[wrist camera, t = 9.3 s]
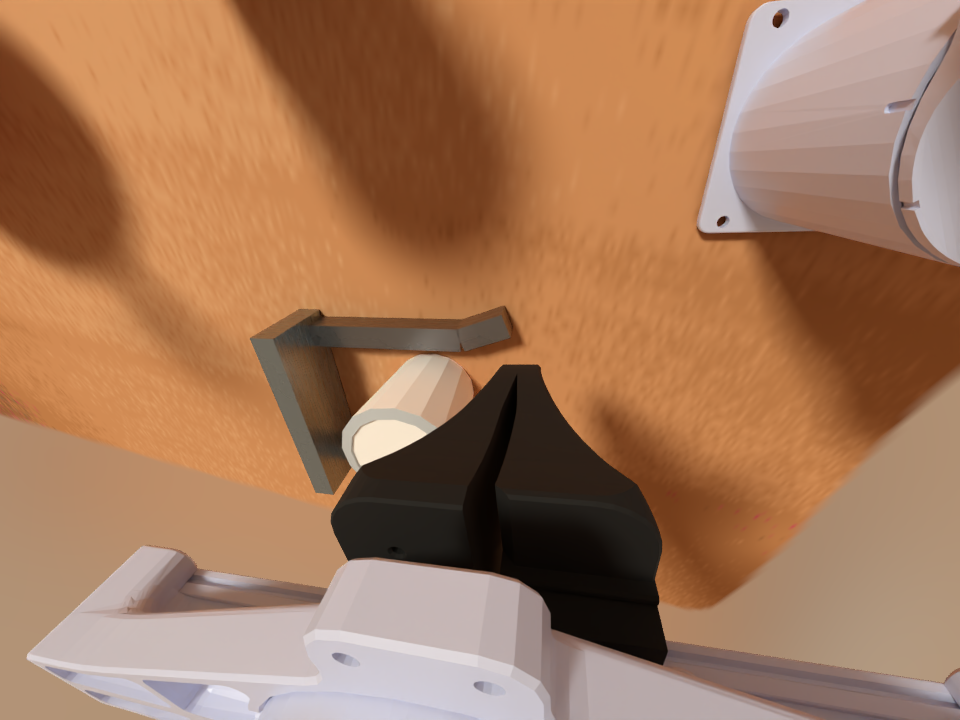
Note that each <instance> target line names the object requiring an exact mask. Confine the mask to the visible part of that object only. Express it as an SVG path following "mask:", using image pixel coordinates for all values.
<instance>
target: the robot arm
mask: <svg viewBox="0 0 960 720" xmlns="http://www.w3.org/2000/svg"><path fill="white" fill-rule="evenodd" d="M777 12H778V13H781V14H782V15H783V22H782V24H781V26H780V27H779V28H775V27H774V26H773V24H772V19H773V17H774V15H775V14H776V13H777ZM722 216H725V217H726V221H725V223H724V224H723V225H722V226H719V227H718V226H717V221H718V219H719V218H720V217H722ZM697 227H698V229H699V230H700V231H702V232H704V233H742V232H790V231H819V232H823V233H827V234H831V235H835V236H839V237H843V238H847V239H851V240H855V241H859V242H863V243H867V244H870V245H874V246H878V247H882V248H886V249H890V250H894V251H898V252H902V253H906V254H910V255H914V256H918V257H922V258H926V259H930V260H934V261H938V262H942V263H946V264H950V265H954V266H958V267H960V0H780V1H772V2H768V3H765V4H763V5H761V6H760V7H759V8H757V9H756V10H755V11H754V12H753V13H752V14H751V15H750V17H749V18H748V20H747V23H746V25H745V30H744V34H743V38H742V42H741V46H740V50H739V54H738V58H737V62H736V66H735V70H734V74H733V78H732V82H731V86H730V90H729V94H728V98H727V102H726V106H725V110H724V114H723V118H722V122H721V126H720V130H719V135H718V139H717V143H716V147H715V151H714V155H713V159H712V163H711V167H710V171H709V175H708V179H707V183H706V187H705V191H704V195H703V199H702V203H701V207H700V211H699V215H698V219H697ZM331 524H332V527H333V531H334V534H335V536H336V538H337V540H338V542H339V544H340V546H341V548H342V550H343V552H344V554H345V556H346V558H347V560H348V562H347V563H346V564H344V565H343V566H342V567H340V568H339V569H338V570H337V572H336V574H335V576H334V578H333V580H332V582H331V584H330V586H329V588H321V587H315V586H308V585H301V584H294V583H289V582H282V581H276V580H269V579H263V578H256V577H249V576H243V575H236V574H230V573H223V572H217V571H210V570H204V569H197V565H196V564H195V562H194V561H193V560H192V559H191V557H189V556H188V555H187V554H186V553H184V552H182V551H180V550H176V549H172V548H165V547H158V546H151V545H145V546H142V547H141V548H140V549H139V550H138V551H136V553H134V554H133V555H132V556H131V557H130V558H129V559H128V560H127V561H126V562H125V563H124V564H123V565H122V566H120V567H119V569H117V570H116V571H115V572H114V573H113V574H112V575H111V576H110V577H109V578H108V579H107V580H106V581H104V582H103V583H102V584H101V585H100V586H99V587H98V588H97V589H96V590H95V591H94V592H93V593H92V594H91V595H90V596H89V597H88V598H86V599H85V600H84V601H83V602H82V603H81V604H80V605H79V606H78V607H77V608H76V609H75V610H74V611H73V612H72V613H70V614H69V615H68V616H67V617H66V618H65V619H64V620H63V621H62V622H61V623H60V624H59V625H58V626H57V627H56V628H55V629H53V630H52V631H51V632H50V633H49V634H48V635H47V636H46V637H45V638H44V639H43V640H42V641H41V642H40V643H39V644H37V646H35V648H33V649H32V650H31V651H30V652H29V653H28V655H27V660H29V661H30V662H32V663H34V664H36V665H37V666H39V667H41V668H42V669H44V670H46V671H48V672H49V673H51V674H53V675H54V676H56V677H58V678H60V679H61V680H63V681H65V682H66V683H68V684H70V685H72V686H73V687H75V688H77V689H78V690H80V691H82V692H84V693H85V694H87V695H89V696H90V697H92V698H94V699H96V700H97V701H99V702H101V703H103V704H107V705H110V706H114V707H117V708H121V709H124V710H127V711H131V712H135V713H137V714H141V715H144V716H147V717H150V718H153V719H156V720H960V668H958V669H956V670H955V671H953V672H952V673H951V674H950V675H949V676H948V677H947V678H946V680H945V682H944V683H940V682H933V681H926V680H920V679H914V678H907V677H901V676H894V675H888V674H881V673H875V672H868V671H862V670H855V669H849V668H842V667H836V666H829V665H823V664H816V663H810V662H803V661H797V660H790V659H783V658H777V657H771V656H764V655H758V654H751V653H745V652H737V651H732V650H725V649H718V648H712V647H705V646H699V645H692V644H686V643H679V642H673V641H666V640H665V636H664V633H663V628H662V624H661V619H660V615H659V611H658V607H657V605H659V595H658V591H657V587H656V583H655V576H656V572H657V568H658V565H659V561H660V557H661V553H662V539H661V536H660V532H659V529H658V526H657V524H656V521H655V519H654V517H653V514H652V512H651V510H650V508H649V506H648V504H647V502H646V500H645V498H644V496H643V494H642V492H641V491H640V489H639V487H638V485H637V484H635V483H634V482H633V481H631V480H630V479H628V478H627V477H626V476H624V475H623V474H621V473H620V472H618V471H617V470H616V469H614V468H613V467H611V466H610V465H609V464H607V463H606V462H605V461H604V460H603V459H602V458H600V457H599V456H598V455H597V454H596V453H595V452H594V451H593V450H592V449H591V448H590V447H589V446H588V445H587V444H586V443H585V442H584V441H583V440H582V439H581V438H580V437H579V436H578V435H577V433H576V432H575V431H574V430H573V429H572V427H571V426H570V425H569V424H568V422H567V421H566V420H565V418H564V417H563V416H562V414H561V413H560V411H559V409H558V408H557V406H556V405H555V403H554V401H553V399H552V398H551V396H550V394H549V392H548V390H547V388H546V385H545V383H544V380H543V378H542V374H541V367H540V366H538V365H502V366H501V367H500V368H499V370H498V371H497V372H496V373H495V375H494V376H493V377H492V378H491V379H490V381H489V382H488V383H487V384H486V385H485V386H484V388H483V389H482V390H481V391H480V392H479V393H478V394H477V395H476V396H475V397H474V398H473V399H472V400H471V401H470V402H469V403H468V404H467V405H466V406H465V407H464V408H463V409H462V410H461V411H459V412H458V413H457V414H456V415H455V416H453V417H452V418H451V419H449V420H448V421H447V422H445V423H444V424H443V425H441V426H440V427H438V428H436V429H435V430H433V431H432V432H430V433H429V434H427V435H426V436H424V437H422V438H421V439H419V440H417V441H415V442H413V443H411V444H410V445H408V446H406V447H404V448H402V449H400V450H398V451H395V452H393V453H391V454H389V455H386V456H384V457H381V458H379V459H377V460H374V461H372V462H369V463H367V464H364V465H362V466H361V467H360V469H359V470H358V472H357V473H356V474H355V476H354V477H353V479H352V480H351V482H350V484H349V485H348V487H347V489H346V490H345V492H344V494H343V495H342V497H341V498H340V500H339V502H338V503H337V505H336V507H335V508H334V510H333V511H332V513H331Z"/></svg>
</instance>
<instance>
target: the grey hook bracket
mask: <svg viewBox="0 0 960 720" xmlns="http://www.w3.org/2000/svg"><path fill="white" fill-rule="evenodd" d="M512 329H513V326H512V324H511V321H510V319H509V316H508V314H507V311H506V309H505V306H502V307H499V308H496V309H493V310H490V311H487V312H484V313H481V314H478V315H475V316H472V317H469V318H466V319H463V320H454V319H409V318H363V317H321V315H320V311H319V310H308V309H299V310H297V311H296V312H294V313H292V314H290V315H289V316H287V317H285V318H284V319H282V320H280V321H278V322H277V323H275V324H273V325H272V326H270V327H268V328H267V329H265V330H263V331H261V332H260V333H258V334H256V335H255V336H253V337H251V338H250V340H251V342H252V345H253V347H254V349H255V352H256V354H257V356H258V359H259V361H260V363H261V366H262V368H263V370H264V373H265V375H266V377H267V380H268V382H269V384H270V387H271V389H272V391H273V394H274V396H275V398H276V401H277V403H278V405H279V408H280V410H281V412H282V415H283V417H284V419H285V422H286V424H287V426H288V429H289V431H290V433H291V436H292V438H293V440H294V443H295V445H296V447H297V450H298V452H299V455H300V457H301V459H302V462H303V464H304V466H305V469H306V471H307V473H308V476H309V478H310V480H311V483H312V485H313V487H314V490H315V492H316V493H324V494H332V495H334V493H335V492H336V490H337V489H338V487H339V486H340V484H341V483H342V481H343V480H344V478H345V477H346V475H347V473H348V472H349V470H350V469H351V466H350V464H349V462H348V460H347V458H346V456H345V453H344V451H343V449H342V431H343V429H344V428H345V427H346V425H347V424H348V422H349V421H350V419H351V418H352V417H351V414H350V411H349V407H348V404H347V401H346V397H345V394H344V391H343V387H342V384H341V381H340V377H339V374H338V371H337V368H336V364H335V361H334V358H333V354H332V351H331V348H330V347H348V348H373V349H399V350H425V351H450V352H461V350H462V348H463V349H464V351H468V350H471V349H475V348H478V347H481V346H485V345H488V344H491V343H495V342H498V341H501V340H505V339H508V338H511V334H512Z"/></svg>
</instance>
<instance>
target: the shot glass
mask: <svg viewBox="0 0 960 720" xmlns="http://www.w3.org/2000/svg"><path fill="white" fill-rule="evenodd" d="M473 395H474V391H473V386H472V380H471V378H470V377H469V376H468V374H467V373H466V371H465V370H464V368H463V367H462V366H460V365H459V364H457V363H456V362H455V361H453V360H452V359H450V358H448V357H445V356H441V355H438V354H419V355H417V356H415V357H413V358H411V359H409V360H407V361H406V362H405V363H404V364H403V365H402V366H401V367H400V368H399V369H398V371H397V372H396V373H395V374H394V375H393V376H392V377H391V378H390V379H389V380H388V381H387V382H386V383H385V384H384V385H383V386H382V387H381V388H380V389H379V390H378V391H377V392H376V393H375V394H374V395H373V396H372V397H371V398H370V399H369V400H368V401H367V402H366V403H365V404H364V405H363V406H362V407H361V408H360V409H359V411H358V412H357V413H356V414H355V415H354V416H353V417H352V418H351V419H350V421H349V422H348V424H347V425H346V427H345V428H344V429H343V431H342V449H343V451H344V453H345V456H346V458H347V460H348V462H349V464H350V466H351V467H352V468H353V469H354V470H355V471H356V472H358V470H359V469H360V467H361V466H362V465H364V464H367V463H369V462H372V461H374V460H377V459H379V458H381V457H384V456H386V455H389V454H391V453H393V452H395V451H398V450H400V449H402V448H404V447H406V446H408V445H410V444H411V443H413V442H415V441H417V440H419V439H421V438H422V437H424V436H426V435H427V434H429V433H430V432H432V431H433V430H435V429H436V428H438V427H440V426H441V425H443V424H444V423H445V422H447V421H448V420H449V419H451V418H452V417H453V416H455V415H456V414H457V413H458V412H459V411H461V410H462V409H463V408H464V407H465V406H466V405H467V404H468V403H469V402H470V401H471V400H472V399H473Z"/></svg>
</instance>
